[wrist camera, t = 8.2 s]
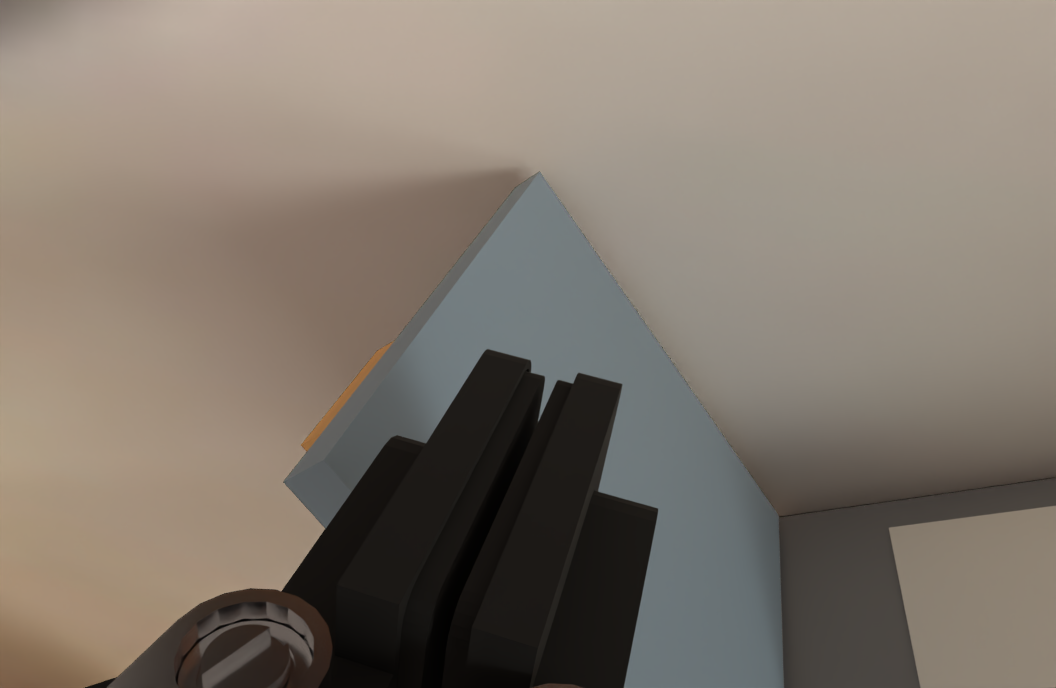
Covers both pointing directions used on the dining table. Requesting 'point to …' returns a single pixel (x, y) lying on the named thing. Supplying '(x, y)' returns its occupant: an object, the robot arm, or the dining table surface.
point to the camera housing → (923, 592)
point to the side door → (634, 449)
